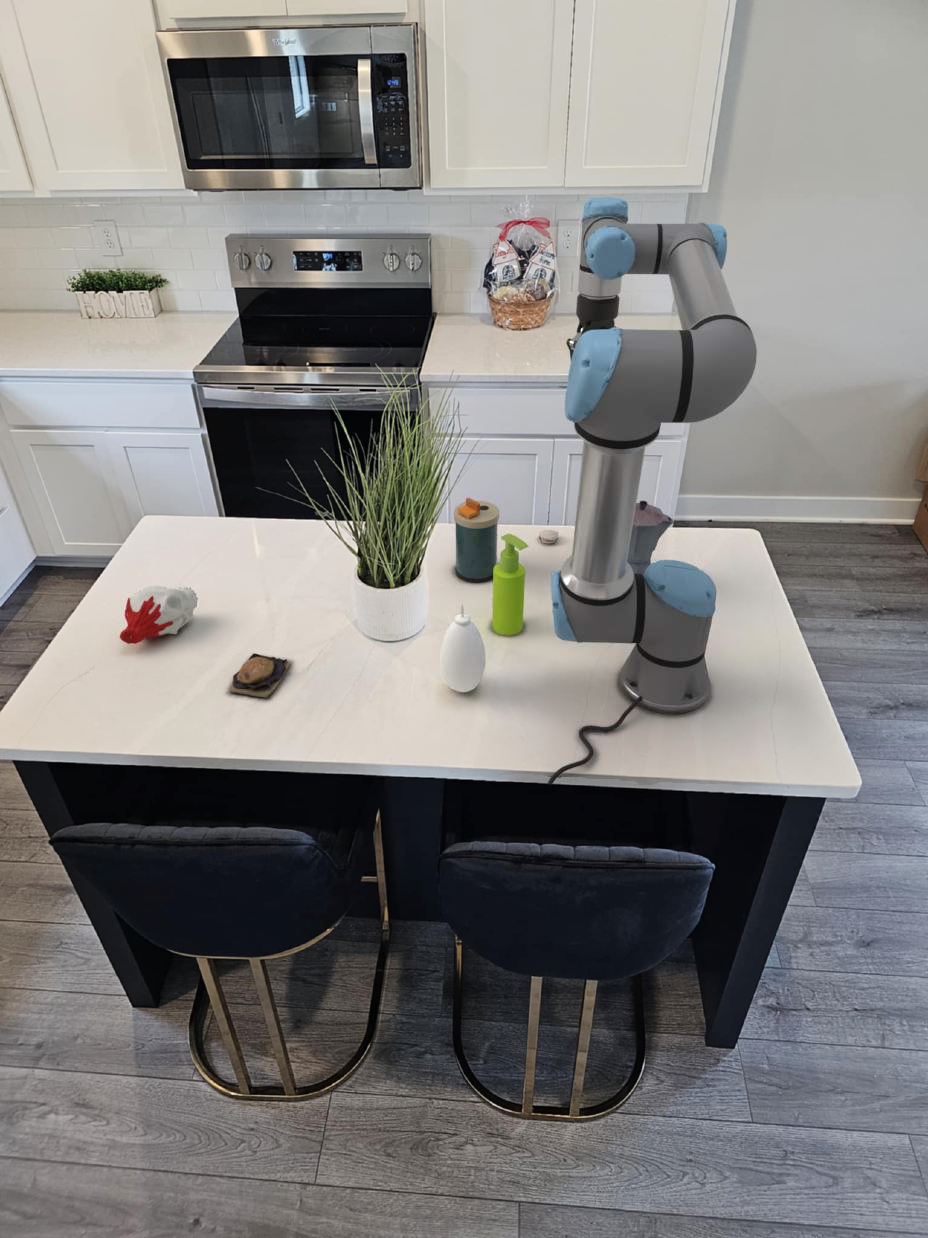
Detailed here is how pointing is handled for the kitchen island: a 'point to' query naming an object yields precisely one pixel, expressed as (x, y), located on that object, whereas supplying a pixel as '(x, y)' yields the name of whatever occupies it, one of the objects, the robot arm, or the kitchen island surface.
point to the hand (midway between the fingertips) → (588, 419)
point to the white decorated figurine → (157, 612)
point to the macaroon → (548, 536)
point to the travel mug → (476, 543)
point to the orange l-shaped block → (470, 508)
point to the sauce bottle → (462, 654)
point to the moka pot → (645, 535)
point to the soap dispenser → (509, 588)
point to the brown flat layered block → (259, 676)
